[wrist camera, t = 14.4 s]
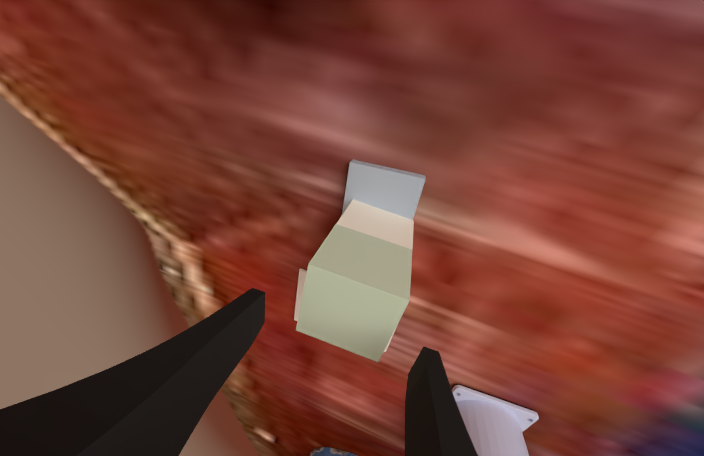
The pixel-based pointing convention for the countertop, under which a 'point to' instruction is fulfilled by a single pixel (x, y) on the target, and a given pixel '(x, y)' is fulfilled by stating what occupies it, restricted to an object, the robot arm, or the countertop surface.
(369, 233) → the brick
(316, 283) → the pale green cube
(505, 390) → the countertop surface
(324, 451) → the lantern
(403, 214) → the base brick
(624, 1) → the countertop surface
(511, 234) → the countertop surface
